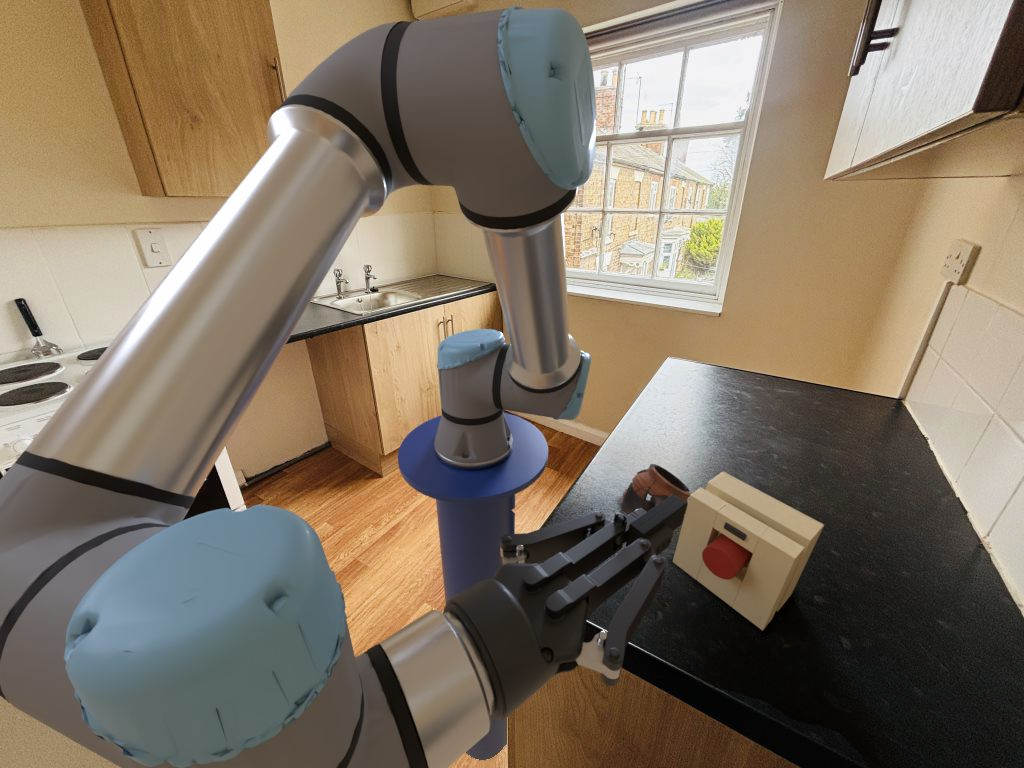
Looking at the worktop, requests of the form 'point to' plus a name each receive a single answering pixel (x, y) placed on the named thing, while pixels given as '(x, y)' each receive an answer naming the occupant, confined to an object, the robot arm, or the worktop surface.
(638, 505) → the pottery mug
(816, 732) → the worktop surface
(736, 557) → the button
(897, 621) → the worktop surface
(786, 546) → the control block
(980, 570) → the worktop surface
